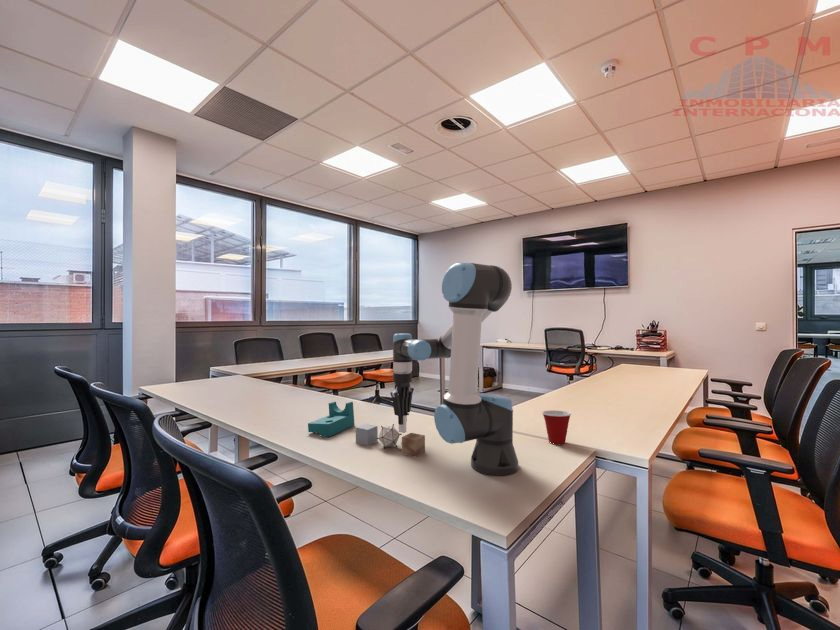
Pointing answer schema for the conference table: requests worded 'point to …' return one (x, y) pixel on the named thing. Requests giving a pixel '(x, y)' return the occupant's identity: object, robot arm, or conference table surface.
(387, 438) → the grey spiky polyhedron
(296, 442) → the conference table surface
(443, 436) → the robot arm
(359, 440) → the slate-grey block
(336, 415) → the teal l-shaped bracket
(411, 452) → the walnut block
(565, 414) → the plastic cup
